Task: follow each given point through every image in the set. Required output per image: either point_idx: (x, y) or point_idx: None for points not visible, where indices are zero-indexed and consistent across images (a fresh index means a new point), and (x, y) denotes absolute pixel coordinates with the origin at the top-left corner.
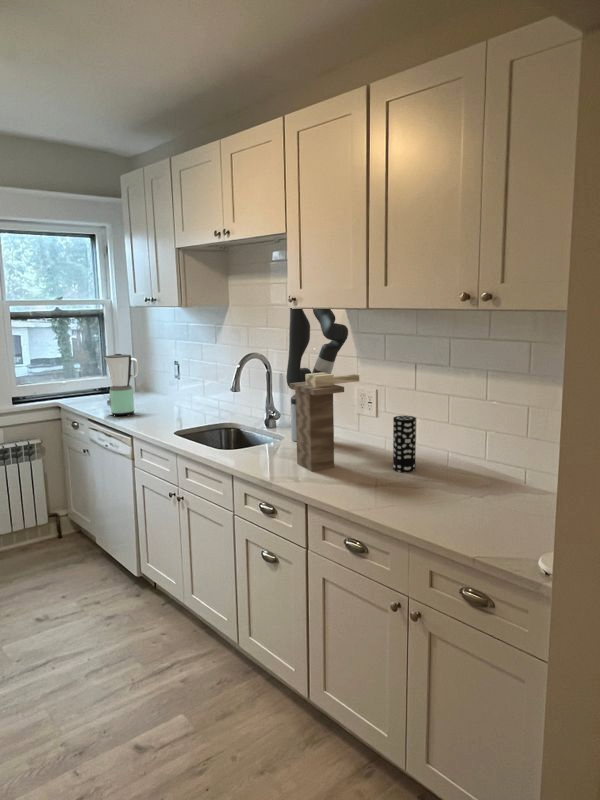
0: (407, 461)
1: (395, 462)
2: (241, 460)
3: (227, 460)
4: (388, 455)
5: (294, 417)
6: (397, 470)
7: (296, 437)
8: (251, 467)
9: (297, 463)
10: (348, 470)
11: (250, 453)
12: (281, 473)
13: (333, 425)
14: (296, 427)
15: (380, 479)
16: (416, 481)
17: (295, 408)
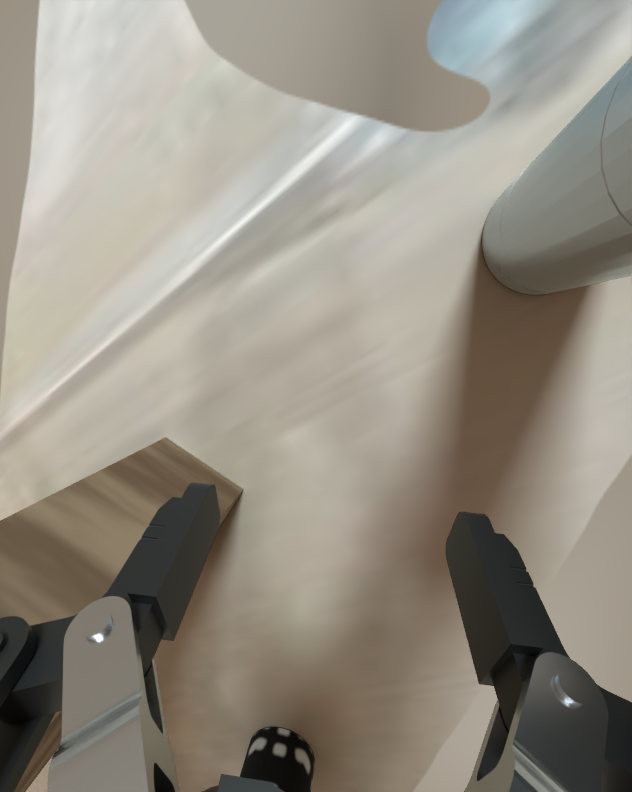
0: None
1: (243, 770)
2: (88, 204)
3: (57, 145)
4: (416, 691)
5: (563, 149)
6: (249, 745)
7: (491, 229)
8: (48, 307)
9: (164, 439)
10: (191, 615)
11: (186, 160)
12: (59, 441)
13: (59, 745)
14: (19, 512)
15: (166, 710)
16: (199, 788)
17: (629, 104)
